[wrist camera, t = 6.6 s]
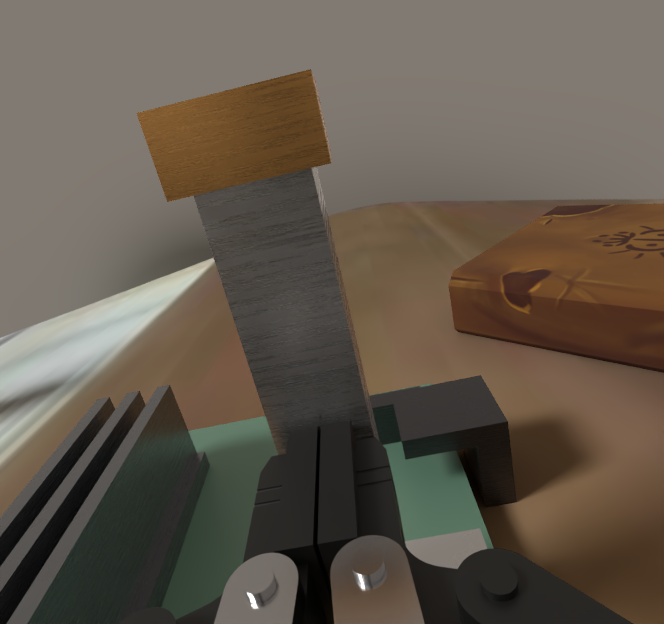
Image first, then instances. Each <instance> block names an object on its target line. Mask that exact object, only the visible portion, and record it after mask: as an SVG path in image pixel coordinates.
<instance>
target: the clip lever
mask: <svg viewBox="0 0 664 624" xmlns="http://www.w3.org/2000/svg"><path fill="white" fill-rule="evenodd" d="M137 116H138V119H139V122H140V124H141V128H142V130H143V133H144V136H145V139H146V141H147V145H148V147H149V150H150V153H151V156H152V159H153V162H154V165H155V168H156V170H157V173H158V176H159V179H160V182H161V185H162V188H163V191H164V194H165V196H166V199H167V202H169V201H172V200H177V199H181V198H185V197H190V196H194V199H195V202H196V205H197V208H198V211H199V214H200V217H201V220H202V223H203V226H204V230H205V232H206V236H207V239H208V241H209V245H210V248H211V251H212V254H213V257H214V260H215V263H216V266H217V269H218V272H219V275H220V278H221V282H222V285H223V288H224V291H225V294H226V297H227V300H228V303H229V306H230V309H231V312H232V315H233V318H234V321H235V324H236V327H237V330H238V334H239V337H240V340H241V343H242V346H243V349H244V352H245V355H246V358H247V361H248V364H249V367H250V370H251V373H252V376H253V379H254V382H255V386H256V389H257V392H258V395H259V398H260V401H261V404H262V407H263V410H264V413H265V416H266V419H267V422H268V425H269V428H270V431H271V434H272V438H273V441H274V444H275V447H276V450H277V453H278V455H282V454H286V451H287V443H288V435H289V432H290V431H295V430H300V429H305V428H311V427H316V426H319V427H320V429H321V426H322V425H327V424H332V423H337V422H342V421H347V420H351V422H352V425H353V429H354V433H355V437H356V440H361V439H366V438H371V437H376V438H377V439H378V440H379V436H378V432H377V428H376V423H375V419H374V414H373V410H372V406H371V401H370V397H369V393H368V388H367V384H366V379H365V375H364V371H363V366H362V362H361V358H360V353H359V349H358V345H357V340H356V336H355V331H354V327H353V323H352V318H351V314H350V310H349V305H348V301H347V296H346V292H345V288H344V283H343V279H342V275H341V270H340V266H339V262H338V257H337V253H336V248H335V244H334V240H333V235H332V231H331V227H330V222H329V218H328V214H327V209H326V205H325V200H324V196H323V192H322V187H321V183H320V179H319V174H318V170H317V166H321V165H325V164H329V163H331V151H330V146H329V142H328V137H327V132H326V128H325V123H324V118H323V114H322V110H321V105H320V100H319V95H318V90H317V86H316V81H315V79H314V76H313V74H312V71H311V69H310V70H306V71H302V72H298V73H294V74H290V75H286V76H282V77H278V78H274V79H270V80H266V81H262V82H258V83H255V84H250V85H246V86H242V87H238V88H235V89H231V90H227V91H223V92H219V93H215V94H211V95H207V96H203V97H199V98H195V99H191V100H187V101H183V102H179V103H175V104H171V105H168V106H163V107H159V108H155V109H151V110H147V111H143V112H140V113H137ZM379 442H380V441H379ZM405 544H406V547H407V549H408V550H409V551H410V552H411V553H412V554H413V555H414V556H415V557H417V558H418V559H420V560H422V561H424V562H425V563H428V564H431V565H435V566H440V567H447V568H454V569H458V567H459V565H460V564H461V563H462V562H463V560H465V559H466V558H467V557H468V556H470V555H471V554H473V553H475V552H478V551H480V550H484V549H487V546H486V544H485V541H484V538H483V535H482V533H481V530H480V528H479V529H473V530H467V531H461V532H456V533H450V534H444V535H438V536H432V537H427V538H421V539H415V540H409V541H405Z"/></svg>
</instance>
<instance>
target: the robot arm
mask: <svg viewBox="0 0 664 624" xmlns="http://www.w3.org/2000/svg"><path fill="white" fill-rule="evenodd" d="M254 505H255V507H254V508H253V513H252V518H251V524H250V529H249V534H248V539H247V544H246V549H245V554H244V560H243V564H242V565H241V566H239V567H238V568H237V569H236V570H235V571H234V572H233V574H232V575H231V576H230V578H229V580H228V581H227V583H226V586H225V588H224V591H223V594H222V595H221V596H219V597H218V598H217V599H215V600H214V601H212V602H211V603H209V604H207V605H205V606H203V607H201V608H199V609H197V610H195V611H193V612H191V613H189V614H187V615H185V616H182V617H180V618H178V619H176V620H175V618H174V616H173V614H172V613H171V612H170V611H168V610H167V609H165V608H161V607H150V608H146V609H142V610H140V611H137V612H135V613H133V614H131V615H130V616H128V617H127V618H125V619H124V620H122V621H121V622H120V623H119V624H633V623H631V622H629V621H628V620H626V619H625V618H623V617H621V616H620V615H618V614H616V613H615V612H613V611H611V610H610V609H608V608H607V607H605V606H603V605H602V604H600V603H598V602H597V601H595V600H594V599H592V598H590V597H589V596H587V595H585V594H584V593H582V592H581V591H579V590H577V589H576V588H574V587H572V586H571V585H569V584H568V583H566V582H564V581H563V580H561V579H559V578H558V577H556V576H554V575H553V574H551V573H550V572H548V571H546V570H545V569H543V568H541V567H540V566H538V565H537V564H535V563H533V562H532V561H530V560H528V559H527V558H525V557H523V556H522V555H520V554H518V553H515V552H512V551H510V550H505V549H497V548H493V549H484V550H480V551H478V552H475V553H473V554H471V555H470V556H468V557H467V558H466V559H465V560H463V562H462V563H461V564H460V565H459V567H458V569H454V568H447V567H440V566H435V565H431V564H428V563H425V562H424V561H422V560H420V559H418V558H417V557H415V556H414V555H413V554H412V553H411V552H410V551H409V550H408V549H407V547H406V544H405V538H404V533H403V527H402V521H401V516H400V510H399V504H398V499H397V494H396V490H395V485H394V481H393V477H392V472H391V468H390V463H389V459H388V454H387V450H386V448H385V447H384V446H383V445H382V444H381V443H380V442H379V440H378V439H377V438H376V437H371V438H366V439H361V440H356V437H355V433H354V429H353V425H352V422H351V420H347V421H342V422H337V423H332V424H327V425H322V426H321V429H320V427H319V426H316V427H311V428H305V429H300V430H295V431H290V432H289V435H288V443H287V451H286V454H282V455H276V456H272V457H271V458H270V459H269V461H268V462H267V464H266V465H265V467H264V468H263V470H262V471H261V473H260V477H259V482H258V488H257V493H256V498H255V503H254Z"/></svg>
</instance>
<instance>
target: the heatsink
mask: <svg viewBox="0 0 664 624" xmlns="http://www.w3.org/2000/svg"><path fill="white" fill-rule="evenodd" d="M369 397H370V401H371V406H372V410H373V414H374V419H375V423H376V428H377V432H378V436H379V441H380V443H381V444H382V445H386V444H391V443H396V442H402V446H403V451H404V455H405V460H406V459H412V458H417V457H423V456H428V455H433V454H439V453H444V452H450V451H455V450H460V449H464V453H465V456H466V458H467V461H468V463H469V466H470V468H471V471H472V473H473V476H474V478H475V481H476V483H477V486H478V488H479V491H480V493H481V496H482V498H483V501H484V503H485V506H486V507H488V506H494V505H500V504H506V503H511V502H516V494H515V485H514V475H513V466H512V457H511V448H510V438H509V429H508V421H507V419H506V418H505V416H504V414H503V413H502V411H501V409H500V408H499V406H498V404H497V402H496V401H495V399H494V397H493V396H492V394H491V392H490V391H489V389H488V387H487V385H486V384H485V382H484V380H483V379H482V377H481V375H480V376H475V377H470V378H465V379H460V380H455V381H450V382H445V383H440V384H434V385H429V386H424V387H420V386H417V387H412V388H407V389H402V390H397V391H392V392H387V393H381V394H376V395H371V396H369ZM209 467H210V464H209V461H208V459H207V456H206V453H205V451H203V452H198V453H197V451H196V449H195V446H194V444H193V441H192V439H191V437H190V434H189V432H188V429H187V427H186V424H185V422H184V419H183V417H182V414H181V412H180V409H179V407H178V404H177V402H176V399H175V397H174V394H173V392H172V389H171V387H170V385H166V386H162V387H157V389H156V390H155V392H154V393H153V395H152V396H151V398H150V400H149V401H148V403H147V404H146V405H145V403H144V400H143V398H142V396H141V394H140V391H137V392H132V393H128V394H126V396H125V397H124V398H123V400H122V401H121V403H120V404H119V405H118V407H117V408H116V409H115V408H114V406H113V404H112V402H111V399H110V397H108V398H103V399H98V400H97V401H96V402H95V403H94V404H93V405H92V407H91V408H90V409H89V410H88V412H87V413H86V414H85V415H84V416H83V418H82V419H81V420H80V421H79V423H78V424H77V425H76V426H75V427H74V429H73V430H72V431H71V432H70V433H69V435H68V436H67V437H66V438H65V440H64V441H63V442H62V443H61V444H60V446H59V447H58V448H57V449H56V451H55V452H54V453H53V454H52V455H51V457H50V458H49V459H48V460H47V461H46V463H45V464H44V465H43V466H42V468H41V469H40V470H39V471H38V472H37V474H36V475H35V476H34V477H33V479H32V480H31V481H30V482H29V483H28V485H27V486H26V487H25V488H24V489H23V491H22V492H21V493H20V494H19V496H18V497H17V498H16V499H15V500H14V502H13V503H12V504H11V505H10V506H9V508H8V509H7V510H6V511H5V513H4V514H3V515H2V516H1V517H0V624H119V623H120V622H121V621H122V620H124V619H125V618H127V617H128V616H130V615H131V614H133V613H135V612H137V611H140V610H142V609H146V608H150V607H162V604H163V601H164V599H165V596H166V593H167V590H168V587H169V584H170V581H171V578H172V575H173V572H174V569H175V566H176V564H177V561H178V558H179V555H180V552H181V549H182V546H183V543H184V540H185V537H186V534H187V531H188V528H189V526H190V523H191V520H192V517H193V514H194V511H195V508H196V505H197V502H198V499H199V496H200V493H201V490H202V488H203V485H204V482H205V479H206V476H207V473H208V470H209Z"/></svg>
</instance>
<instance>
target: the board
mask: <svg viewBox="0 0 664 624" xmlns="http://www.w3.org/2000/svg"><path fill="white" fill-rule="evenodd" d="M429 385H431V383H430V384H425V385H420V387H424V386H429ZM415 387H417V386H415ZM410 388H412V387H410ZM405 389H407V388H405ZM400 390H402V389H400ZM395 391H397V390H395ZM390 392H392V391H390ZM385 393H387V392H385ZM380 394H381V393H380ZM375 395H376V394H375ZM370 396H371V395H370ZM188 432H189V434H190V437H191V439H192V441H193V444H194V446H195V449H196V451H197V453H198V452H203V451H205V453H206V456H207V459H208V461H209V464H210V467H209V470H208V473H207V476H206V479H205V482H204V485H203V488H202V490H201V493H200V496H199V499H198V502H197V505H196V508H195V511H194V514H193V517H192V520H191V523H190V526H189V528H188V531H187V534H186V537H185V540H184V543H183V546H182V549H181V552H180V555H179V558H178V561H177V564H176V566H175V569H174V572H173V575H172V578H171V581H170V584H169V587H168V590H167V593H166V596H165V599H164V601H163V604H162V607H161V608H165V609H167V610H168V611H170V612H171V613H172V614H173V616H174V618H175V620H176V619H178V618H180V617H182V616H185V615H187V614H189V613H191V612H193V611H195V610H197V609H199V608H201V607H203V606H205V605H207V604H209V603H211V602H212V601H214V600H215V599H217V598H218V597H219V596H221V595H222V594H223V591H224V588H225V586H226V583H227V581H228V580H229V578H230V576H231V575H232V574H233V572H234V571H235V570H236V569H237V568H238V567H239V566H241V565H242V564H243V560H244V554H245V549H246V544H247V539H248V534H249V529H250V524H251V518H252V513H253V508H254V507H255V505H254V503H255V498H256V493H257V488H258V482H259V477H260V473H261V471H262V470H263V468H264V467H265V465H266V464H267V462H268V461H269V459H270V458H271V457H272V456H276V455H278V453H277V450H276V447H275V444H274V441H273V438H272V434H271V431H270V428H269V425H268V422H267V419H266V416H263V417H258V418H253V419H248V420H243V421H238V422H233V423H228V424H222V425H217V426H212V427H207V428H202V429H197V430H192V431H188ZM383 446H384V447H385V448H386V450H387V454H388V459H389V463H390V468H391V472H392V477H393V481H394V485H395V490H396V494H397V499H398V504H399V510H400V516H401V521H402V527H403V533H404V538H405V541H409V540H415V539H421V538H427V537H432V536H438V535H444V534H450V533H456V532H461V531H467V530H473V529H479V528H480V530H481V533H482V535H483V538H484V541H485V544H486V546H487V549H493V548H494V547H493V545H492V542H491V540H490V537H489V534H488V532H487V529H486V526H485V524H484V521H483V519H482V516H481V513H480V511H479V508H478V506H477V503H476V500H475V498H474V495H473V492H472V490H471V487H470V485H469V482H468V479H467V477H466V474H465V471H464V469H463V466H462V464H461V461H460V458H459V456H458V453H457V451H456V450H455V451H450V452H444V453H439V454H433V455H428V456H423V457H417V458H412V459H406V460H405V455H404V451H403V446H402V442H396V443H391V444H386V445H383Z"/></svg>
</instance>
